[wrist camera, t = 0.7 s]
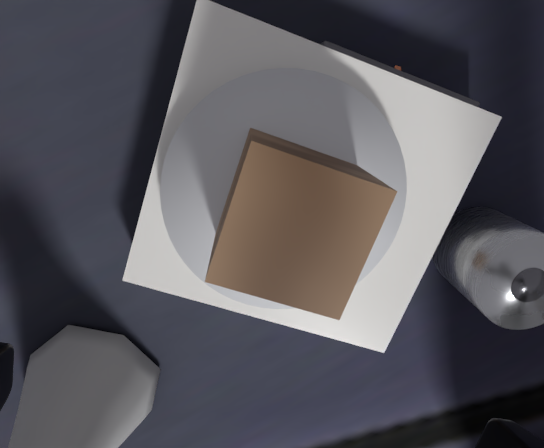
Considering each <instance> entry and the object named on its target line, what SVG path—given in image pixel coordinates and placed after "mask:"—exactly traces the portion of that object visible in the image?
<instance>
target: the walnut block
mask: <svg viewBox="0 0 544 448" xmlns="http://www.w3.org/2000/svg"><path fill="white" fill-rule="evenodd" d="M396 194H397V191H396V190H394V189H393V188H391V187H390V186H388V185H387V184H385V183H384V182H382V181H381V180H379V179H378V178H376V177H375V176H373V175H371V174H370V173H368V172H367V171H365V170H364V169H362V168H361V167H359V166H358V165H355V164H352V163H349V162H347V161H344V160H341V159H338V158H335V157H332V156H330V155H327V154H324V153H321V152H318V151H315V150H313V149H310V148H307V147H304V146H301V145H298V144H296V143H293V142H290V141H287V140H284V139H281V138H279V137H276V136H273V135H270V134H267V133H264V132H262V131H259V130H256V129H253V128H250V130H249V133H248V136H247V139H246V142H245V145H244V148H243V151H242V154H241V157H240V160H239V163H238V166H237V169H236V172H235V176H234V179H233V182H232V185H231V188H230V191H229V194H228V197H227V200H226V203H225V206H224V209H223V212H222V215H221V218H220V221H219V225H218V228H217V231H216V234H215V238H214V243H213V247H212V252H211V256H210V261H209V265H208V269H207V274H206V278H205V282H207V283H210V284H214V285H217V286H221V287H224V288H228V289H231V290H235V291H238V292H242V293H245V294H249V295H252V296H256V297H259V298H263V299H266V300H270V301H273V302H277V303H280V304H284V305H287V306H291V307H294V308H298V309H301V310H305V311H308V312H312V313H315V314H319V315H322V316H326V317H329V318H333V319H336V320H340V318H341V316H342V314H343V311H344V309H345V307H346V305H347V303H348V300H349V298H350V296H351V294H352V291H353V289H354V287H355V285H356V283H357V280H358V278H359V276H360V274H361V271H362V269H363V267H364V265H365V263H366V260H367V258H368V256H369V254H370V251H371V249H372V247H373V245H374V243H375V240H376V238H377V236H378V234H379V231H380V229H381V227H382V225H383V223H384V220H385V218H386V216H387V214H388V212H389V209H390V207H391V205H392V203H393V200H394V198H395V196H396Z"/></svg>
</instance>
